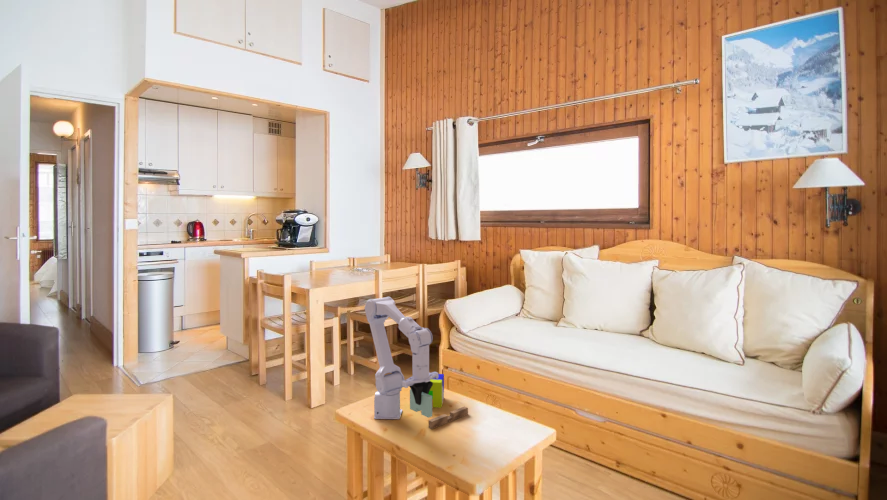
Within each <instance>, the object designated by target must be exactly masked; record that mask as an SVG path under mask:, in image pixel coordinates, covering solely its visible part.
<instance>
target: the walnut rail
mask: <svg viewBox="0 0 887 500" xmlns="http://www.w3.org/2000/svg"><path fill="white" fill-rule="evenodd" d="M467 415H469V407H468V406H465V405H464V406H462V407H459V408H456V409H454V410H451V411H449V415H447V414H445V413H444V414H441V415H438V416H436V417H433V418H431V419H428V421H427V422H428V429H431V430H433V429H435V428H438V427H440V426H443V425H446V424H448V423H450V422H453V421H455V420H458V419H460V418H462V417H465V416H467Z"/></svg>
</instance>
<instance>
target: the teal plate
mask: <svg viewBox="0 0 887 500" xmlns="http://www.w3.org/2000/svg"><path fill="white" fill-rule="evenodd" d="M409 409H410V410H412V411H414V412H416V413H418V412H420V411H421V414H420V415H422V416H424V417H426V418H432V417H433V407H432V396H431V395H429V394H426V393H424V392H422V396H421V405H418V404H416V402H415V398H414V395H413V392H412V390H411V388H409Z"/></svg>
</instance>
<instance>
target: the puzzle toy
mask: <svg viewBox="0 0 887 500" xmlns="http://www.w3.org/2000/svg"><path fill="white" fill-rule="evenodd" d="M430 381H431V382H433V385H432V387H431V389H430V391H429V395H431V396H432V408H440V409H441V408H442V407H443V403H444V399H445V386H444V385H445V375H444V373H438V378H437V379H431V380H430Z"/></svg>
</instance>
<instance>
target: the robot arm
mask: <svg viewBox="0 0 887 500" xmlns="http://www.w3.org/2000/svg"><path fill="white" fill-rule="evenodd" d="M364 311H365V316H366V320H367V323H368V324H369V327H370V332H371V336H372V339H373V344H374V348H375V352H376V357H377V362H378V365H379V368H378V370H377V371H376V373H375V374H374V379H375V388H376V390H377V391H375V394H374V401H373V402H374V413H373V414H374V417H373V419H376V420H379V419H380V420H400V419H401V415H402V413H403V409H402V408H401V392H402V389H403V388H405V389H407V388H409V389H411V390H412V392H413V395H414V398H415V402H416V404H418V405H421V396H422V392H424V393H426V394H429V391H430V389H431V387H432V385H433V382H431V381H430V380H431V379H437V378H438V374H439V372H437V371H431V372H430V345H431V344H432V343H433V337H434V336H433V333H432V331H431V330H430V329H429V328H428V327H422V326H420V325H419V324H418V323H417V322H416V321H415V320H414V318H413V317H412V316H405V315H404V314H403V313H402V311H400V309H399V308H398V307H397V305H396V301H395V300H394V299H393V298H392V297H391V296H386V297H380V298H379V297H378V298H373V299H372V298H369V299H367V301H366V302H365V304H364ZM389 318H390V319H392V320H393V321H394V322H396V324H398V329H399V331H400V332H402V334H404V336H406V338H408V344H409V345H410V351H411V353H412V355H411V357H412V358H411V359H412V361H411V362H412V367H411V368H412V370H411V371H412V375H411V376H410V377H408V378H406V379H405V376H404V374H403V373H402V369H401V367H400V366H398V365H396V364H395V363H394V360H393V359H394V358H393V357H392V352H391V348H390V342H389V340H388V339H389V338H388V336H387V331H386V328H385V323H386V320H388V319H389Z"/></svg>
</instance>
